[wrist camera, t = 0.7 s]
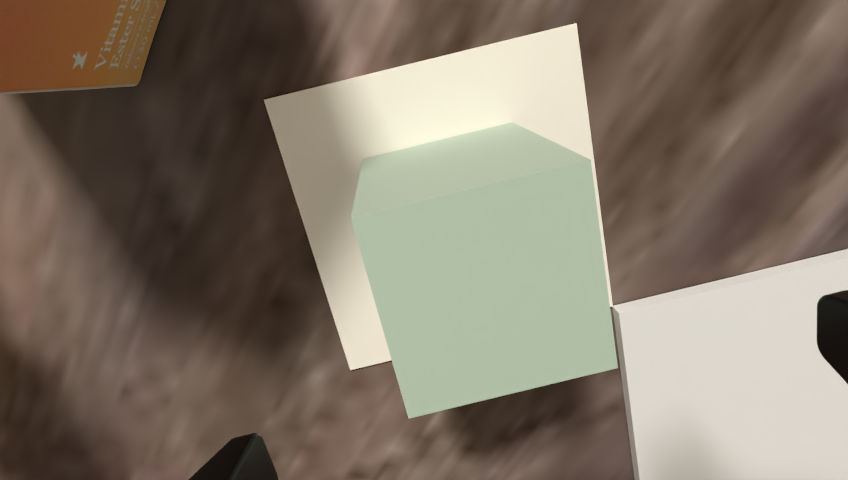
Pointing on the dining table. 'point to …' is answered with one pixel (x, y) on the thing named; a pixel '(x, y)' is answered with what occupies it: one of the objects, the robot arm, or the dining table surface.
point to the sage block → (484, 266)
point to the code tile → (410, 126)
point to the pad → (735, 378)
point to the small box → (74, 43)
